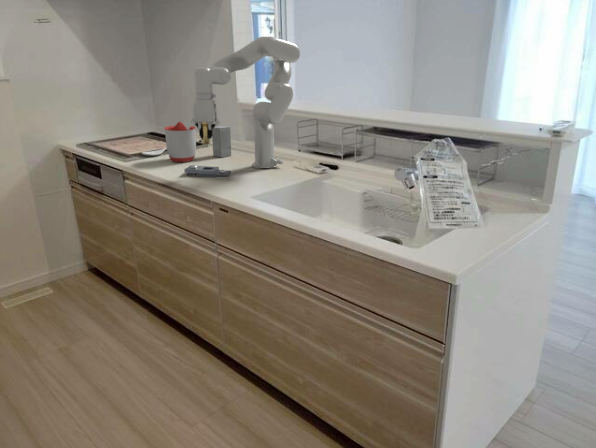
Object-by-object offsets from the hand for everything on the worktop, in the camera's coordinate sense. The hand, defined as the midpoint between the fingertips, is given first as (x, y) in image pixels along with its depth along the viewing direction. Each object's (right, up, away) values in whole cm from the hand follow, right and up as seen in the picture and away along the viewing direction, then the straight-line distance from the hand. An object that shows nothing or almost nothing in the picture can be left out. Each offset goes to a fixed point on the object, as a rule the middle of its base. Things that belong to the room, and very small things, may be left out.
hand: (206, 137), depth 223 cm
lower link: (+3, -17, +5) cm, 18 cm away
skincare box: (0, -2, +45) cm, 45 cm away
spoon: (-30, 0, +50) cm, 59 cm away
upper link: (-3, -16, +6) cm, 18 cm away
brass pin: (0, -3, +1) cm, 3 cm away
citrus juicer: (-19, -6, +34) cm, 39 cm away
